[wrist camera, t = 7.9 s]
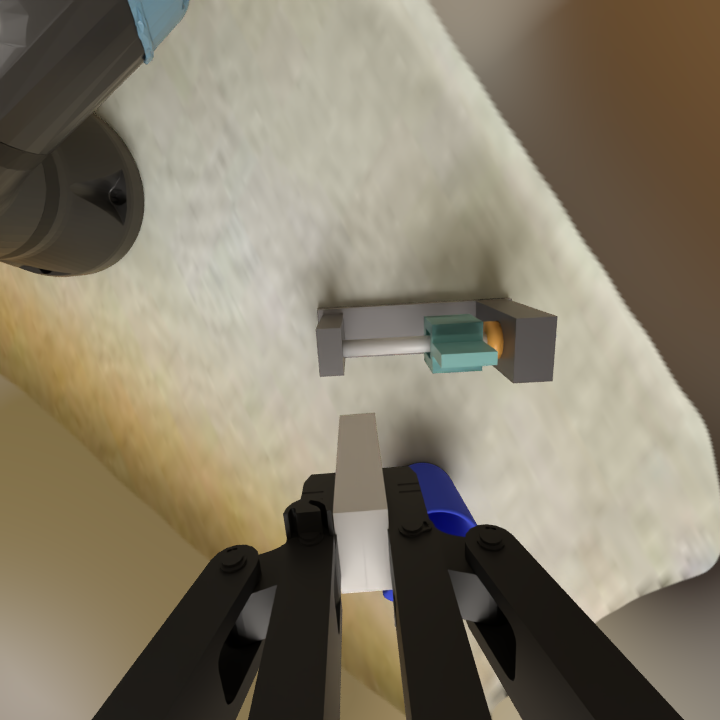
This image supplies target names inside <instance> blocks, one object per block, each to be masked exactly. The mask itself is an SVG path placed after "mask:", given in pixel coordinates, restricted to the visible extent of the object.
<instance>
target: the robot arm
mask: <svg viewBox="0 0 720 720" xmlns="http://www.w3.org/2000/svg"><path fill="white" fill-rule="evenodd" d="M188 5H189V0H0V262H3V263H6V264H9V265H12V266H15V267H19V268H21V269H24V270H27V271H30V272H33V273H37V274H41V275H46V276H54V277H70V276H80V275H88V274H93V273H96V272H99V271H102V270H104V269H107V268H109V267H110V266H112V265H114V264H115V263H116V262H118V261H119V260H120V259H121V258H122V257H123V256H124V255H125V254H126V253H127V252H128V251H129V249H130V248H131V247H132V245H133V243H134V242H135V240H136V238H137V236H138V233H139V231H140V228H141V224H142V219H143V213H144V194H143V187H142V182H141V178H140V175H139V172H138V169H137V166H136V164H135V162H134V159H133V157H132V155H131V154H130V152H129V150H128V149H127V147H126V145H125V144H124V142H123V141H122V140H121V138H120V137H119V136H118V135H117V134H116V132H115V131H114V130H113V129H112V128H111V127H110V126H109V125H108V124H107V123H105V122H104V121H103V120H102V119H101V118H99V117H98V116H97V115H95V114H94V113H93V112H94V111H95V110H96V109H97V108H98V107H99V106H100V105H101V104H102V103H103V102H104V101H105V100H106V99H107V98H108V97H109V96H110V95H111V94H112V93H113V92H114V91H115V90H116V89H117V88H118V87H119V86H120V85H121V84H122V83H123V82H124V81H125V80H126V79H127V78H128V77H129V76H130V75H131V74H132V73H133V72H134V71H135V70H136V69H137V68H138V67H139V66H140V65H141V64H142V63H143V62H144V63H145V64H148V63H149V62H150V61H151V60H152V59H153V54H154V50H155V49H156V48H157V46H158V45H159V44H160V43H161V42H162V41H163V40H164V39H165V38H166V36H167V35H168V34H169V33H170V32H171V31H172V30H173V29H174V27H175V26H176V25H177V24H178V23H179V22H180V21H181V20H182V18H183V17H184V15H185V13H186V11H187V8H188ZM283 516H284V523H285V530H286V536H287V541H286V543H285V544H284V545H282V546H280V547H279V548H277V549H274V550H272V551H269V552H266V553H263V554H260V555H258V551H257V550H256V549H255V548H253V547H252V546H248V545H235V546H232V547H229V548H226V549H224V550H223V551H221V552H219V553H218V554H217V555H216V556H215V557H214V558H213V559H212V560H211V561H210V562H209V563H208V565H207V566H206V567H205V569H204V570H203V572H202V573H201V574H200V575H199V577H198V578H197V579H196V581H195V582H194V584H193V585H192V586H191V588H190V589H189V590H188V592H187V593H186V594H185V596H184V597H183V598H182V600H181V601H180V602H179V604H178V605H177V607H176V608H175V609H174V610H173V612H172V613H171V614H170V616H169V617H168V618H167V620H166V621H165V622H164V624H163V625H162V626H161V628H160V629H159V630H158V632H157V633H156V634H155V636H154V637H153V638H152V640H151V641H150V642H149V644H148V645H147V647H146V648H145V649H144V650H143V652H142V653H141V654H140V656H139V657H138V658H137V660H136V661H135V662H134V664H133V665H132V666H131V668H130V669H129V670H128V672H127V673H126V674H125V676H124V677H123V679H122V680H121V681H120V683H119V684H118V685H117V686H116V688H115V689H114V690H113V692H112V693H111V695H110V696H109V697H108V699H107V700H106V701H105V703H104V704H103V705H102V707H101V708H100V709H99V711H98V712H97V713H96V715H95V716H94V717H93V719H92V720H236V718H237V716H238V713H239V711H240V709H241V707H242V705H243V702H244V700H245V698H246V696H247V693H248V691H249V689H250V687H251V684H252V682H253V680H254V678H255V676H256V673H257V671H258V669H259V671H258V676H257V681H256V685H255V690H254V694H253V699H252V704H251V709H250V713H249V718H248V720H340V685H341V684H340V683H341V682H340V681H341V642H342V603H341V592H342V593H355V592H368V591H381V590H393V604H394V619H395V627H396V631H397V640H398V649H399V658H400V667H401V676H402V685H403V694H404V703H405V712H406V720H492V719H491V716H490V712H489V709H488V706H487V702H486V699H485V695H484V692H483V688H482V685H481V681H480V678H479V675H478V671H477V668H476V664H475V661H474V657H473V654H472V651H471V647H470V644H469V640H468V637H467V633H466V630H465V627H464V623H463V620H462V619H465V620H466V622H467V624H468V627H469V629H470V630H471V632H472V634H473V636H474V637H475V639H476V641H477V642H478V644H479V646H480V648H481V649H482V651H483V653H484V654H485V656H486V658H487V660H488V661H489V663H490V665H491V666H492V668H493V670H494V672H495V673H496V675H497V677H498V678H499V680H500V682H501V684H502V685H503V687H504V689H505V690H506V692H507V694H508V696H509V697H510V699H511V701H512V703H513V704H514V706H515V708H516V709H517V711H518V713H519V715H520V716H521V718H522V720H684V719H683V718H682V717H681V716H680V715H679V714H678V713H677V712H676V711H675V710H674V709H673V707H672V706H671V705H670V704H669V703H668V702H667V701H666V700H665V699H664V698H663V697H662V696H661V695H660V693H659V692H658V691H657V690H656V689H655V688H654V687H653V686H652V685H651V684H650V683H649V682H648V681H647V679H646V678H645V677H644V676H643V675H642V674H641V673H640V672H639V671H638V670H637V669H636V668H635V666H634V665H633V664H632V663H631V662H630V661H629V660H628V659H627V658H626V657H625V656H624V655H623V654H622V652H620V650H619V649H618V648H617V647H616V646H615V645H614V644H613V643H612V642H611V641H610V640H609V638H608V637H607V636H606V635H605V634H604V633H603V632H602V631H601V630H600V629H599V628H598V627H597V626H596V624H595V623H594V622H593V621H592V620H591V619H590V618H589V617H588V616H587V615H586V614H585V613H584V611H583V610H582V609H581V608H580V607H579V606H578V605H577V604H576V603H575V602H574V601H573V600H572V599H571V597H570V596H569V595H568V594H567V593H566V592H565V591H564V590H563V589H562V588H561V587H560V586H559V584H558V583H557V582H556V581H555V580H554V579H553V578H552V577H551V576H550V575H549V574H548V573H547V572H546V570H545V569H544V568H543V567H542V566H541V565H540V564H539V563H538V562H537V561H536V560H535V559H534V558H533V556H532V555H531V554H530V553H529V552H528V551H527V550H526V549H525V548H524V547H523V546H522V545H521V544H520V542H519V541H518V540H517V539H516V538H515V537H514V536H513V535H512V534H511V533H509V532H508V531H507V530H505V529H503V528H501V527H498V526H494V525H488V524H485V525H477V526H475V527H473V528H470V529H469V531H468V532H467V533H466V535H465V537H461V536H455V535H451V534H447V533H444V532H442V531H440V530H439V529H437V528H436V527H435V525H434V524H433V522H432V521H431V520H430V519H429V516H428V513H427V509H426V506H425V502H424V499H423V495H422V492H421V488H420V484H419V481H418V477H417V474H416V473H415V472H414V471H413V470H412V469H411V468H410V467H409V466H403V467H391V468H382V464H381V456H380V449H379V441H378V434H377V427H376V419H375V413H365V414H352V415H340V419H339V433H338V447H337V461H336V473H327V474H314V475H311V476H310V477H309V478H308V479H307V480H306V481H305V483H304V486H303V491H302V496H301V499H300V500H298V501H296V502H294V503H292V504H291V505H290V506H288V507H287V508H286V510H285V512H284V513H283Z"/></svg>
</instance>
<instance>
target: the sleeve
mask: <svg viewBox="0 0 720 720" xmlns="http://www.w3.org/2000/svg"><path fill="white" fill-rule="evenodd" d="M427 335H430V352H424V360H425V362H426V364H427V365H428V367H429V368H430V370H431V372H432V373H450V372H468V371H482V366H488V365H497V361H498V351H496V350H495V349H494V348H492V347H491V346H490V345H488V344H487V343H485V342H484V341H483V321H481V320H479V319H477V318H476V317H474V316H472V315H471V314H457V315H439V316H424V336H427Z"/></svg>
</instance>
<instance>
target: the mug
mask: <svg viewBox="0 0 720 720" xmlns="http://www.w3.org/2000/svg"><path fill="white" fill-rule="evenodd" d="M409 467H410V468H411V469H412V470H413V471H414V472H415V473H416V474H417V477H418V481H419V484H420V488H421V492H422V495H423V499H424V502H425V506H426V509H427V513H428V516H429V519H430V520H431V521H432V522H433V524H434V525H435V527H436V528H437V529H439V530H440V531H442V532H444V533H447V534H451V535H455V536H461V537H465V535H466V533H467V532H468V531H469V529H470V528H473V527H475V526H477V524H476V522H475V520H474V519H473V517H472V515H471V513H470V512H469V510H468V508H467V506H466V505H465V503H464V501H463V499H462V498H461V496H460V494H459V492H458V491H457V489H456V487H455V486H454V484H453V482H452V480H451V479H450V477H449V476H448V475H447V473H446V472H444V471H443V470H442V469H441V468H439V467H438V466H436V465H433V464H430V463H415V464H411V465H409ZM383 595H384V597H385V598H386V599H388V600H390V601H393V590H383Z"/></svg>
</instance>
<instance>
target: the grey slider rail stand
mask: <svg viewBox="0 0 720 720" xmlns="http://www.w3.org/2000/svg"><path fill="white" fill-rule="evenodd" d="M317 313H318V326H317V328H316V337H317V349H318V361H319V373H320V377H325V376H342V375H344V369H345V358H352V357H370V356H387V355H405V354H423V353H424V352H430V335H427V336H424V316H439V315H457V314H471V315H472V316H474V317H476V318H477V319H479V320H481V321H483V341H484V342H485V343H487V344H488V345H490V346H491V347H492V348H494V349H495V350H496V351H498V361H497V365H492V366H494V367H495V368H496V369H497V370H498V371H499V372H501V373H502V374H503V375H504V376H505V377H506V378H508V379H509V380H510V381H511V382H512V383H527V382H545V381H553V367H554V354H555V341H556V328H557V316H555V315H552V314H549V313H546V312H543V311H540V310H537V309H534V308H532V307H529V306H526V305H523V304H520V303H517V302H514V301H512V299H511V298H498V299H480V300H462V301H445V302H427V303H409V304H391V305H373V306H355V307H338V308H320V309H317Z"/></svg>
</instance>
